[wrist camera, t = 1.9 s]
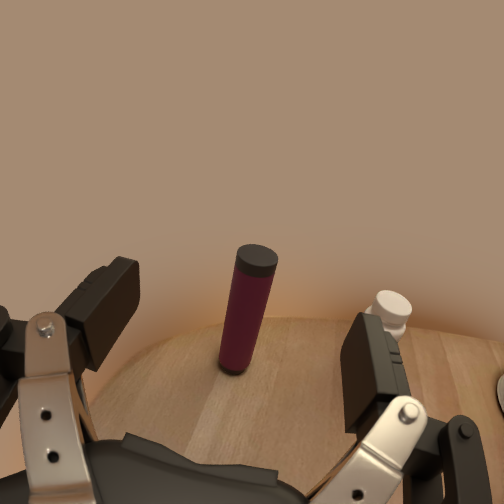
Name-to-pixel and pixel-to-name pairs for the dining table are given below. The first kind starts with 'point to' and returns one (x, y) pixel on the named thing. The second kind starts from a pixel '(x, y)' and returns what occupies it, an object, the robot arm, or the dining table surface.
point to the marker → (246, 305)
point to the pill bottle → (391, 312)
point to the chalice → (501, 391)
